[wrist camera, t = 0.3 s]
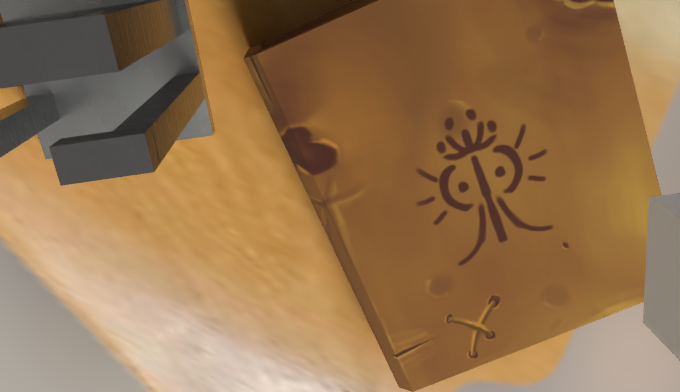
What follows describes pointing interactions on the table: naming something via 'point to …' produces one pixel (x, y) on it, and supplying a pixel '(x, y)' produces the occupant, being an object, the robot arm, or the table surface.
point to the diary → (468, 168)
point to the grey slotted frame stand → (102, 83)
